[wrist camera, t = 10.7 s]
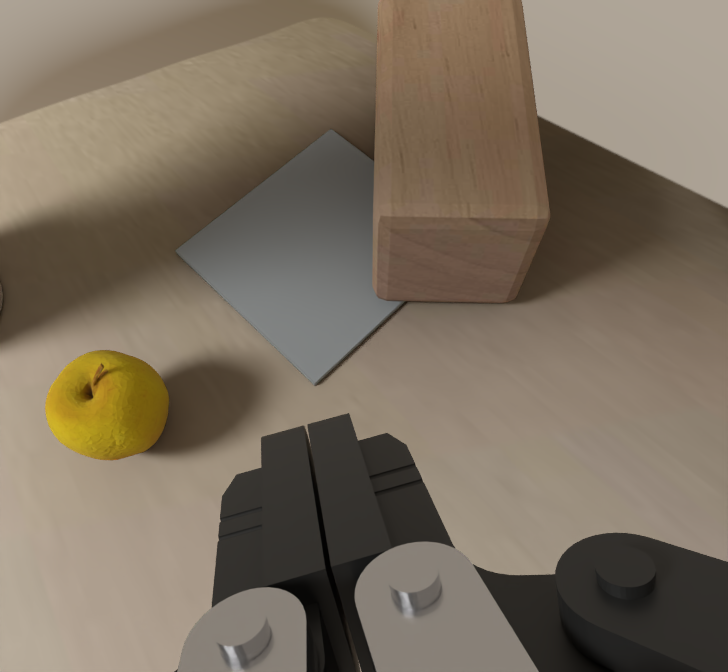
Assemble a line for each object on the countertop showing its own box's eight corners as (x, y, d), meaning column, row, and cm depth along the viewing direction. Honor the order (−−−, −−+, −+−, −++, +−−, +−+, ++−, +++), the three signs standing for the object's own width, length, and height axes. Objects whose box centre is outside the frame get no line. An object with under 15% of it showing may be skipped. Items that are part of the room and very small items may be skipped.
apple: (193, 381, 41) (151, 330, 34) (174, 476, 38) (125, 444, 31) (100, 376, 41) (40, 325, 34) (75, 470, 39) (4, 436, 32)
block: (372, 217, 33) (378, -19, 42) (372, 306, 42) (376, 96, 51) (557, 220, 33) (524, -18, 42) (517, 309, 42) (497, 98, 51)
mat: (176, 253, 45) (174, 250, 45) (331, 132, 50) (331, 128, 49) (314, 385, 41) (314, 383, 40) (472, 238, 45) (472, 236, 45)
